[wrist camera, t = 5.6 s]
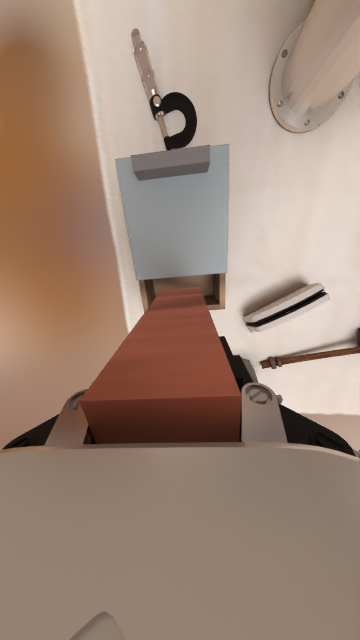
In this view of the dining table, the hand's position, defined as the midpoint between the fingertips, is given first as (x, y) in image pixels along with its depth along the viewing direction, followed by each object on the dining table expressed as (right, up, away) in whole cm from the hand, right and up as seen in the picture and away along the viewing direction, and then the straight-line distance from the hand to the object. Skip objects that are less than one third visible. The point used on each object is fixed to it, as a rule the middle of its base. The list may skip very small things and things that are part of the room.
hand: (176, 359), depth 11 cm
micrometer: (-2, +41, +18) cm, 45 cm away
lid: (0, +19, +16) cm, 25 cm away
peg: (0, +4, +12) cm, 12 cm away
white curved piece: (+24, +6, +30) cm, 39 cm away
